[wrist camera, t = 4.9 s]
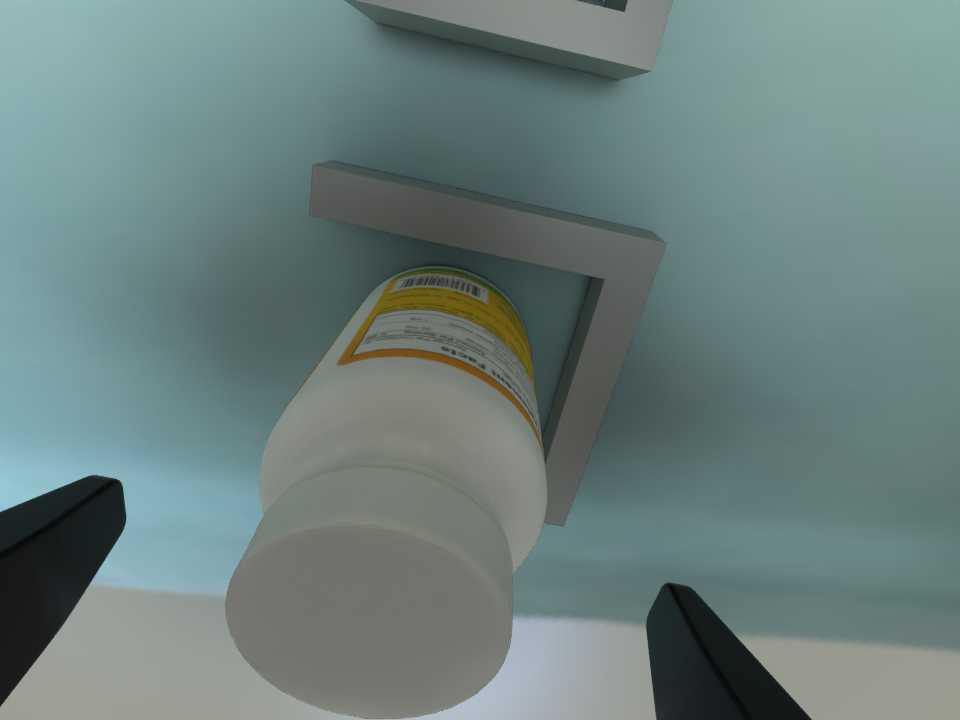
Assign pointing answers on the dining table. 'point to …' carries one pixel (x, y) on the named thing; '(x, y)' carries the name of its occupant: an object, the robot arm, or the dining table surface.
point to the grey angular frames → (522, 227)
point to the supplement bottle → (397, 505)
